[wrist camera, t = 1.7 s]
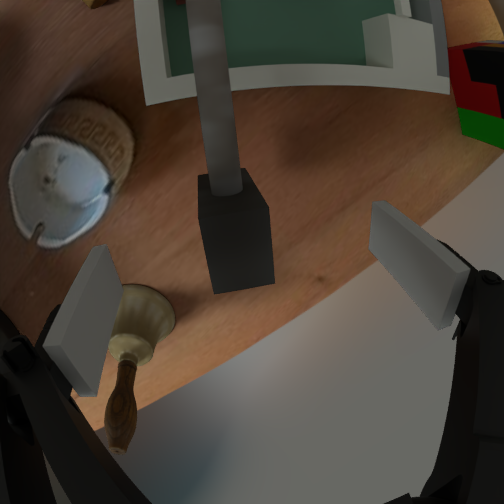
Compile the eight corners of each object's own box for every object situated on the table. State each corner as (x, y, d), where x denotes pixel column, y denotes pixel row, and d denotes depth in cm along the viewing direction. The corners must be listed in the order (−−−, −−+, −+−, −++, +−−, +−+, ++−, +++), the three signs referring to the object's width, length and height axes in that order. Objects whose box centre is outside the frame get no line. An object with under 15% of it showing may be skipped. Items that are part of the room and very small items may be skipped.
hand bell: (86, 311, 29) (49, 441, 16) (132, 268, 28) (100, 415, 14) (141, 352, 33) (133, 477, 20) (191, 317, 32) (199, 457, 18)
